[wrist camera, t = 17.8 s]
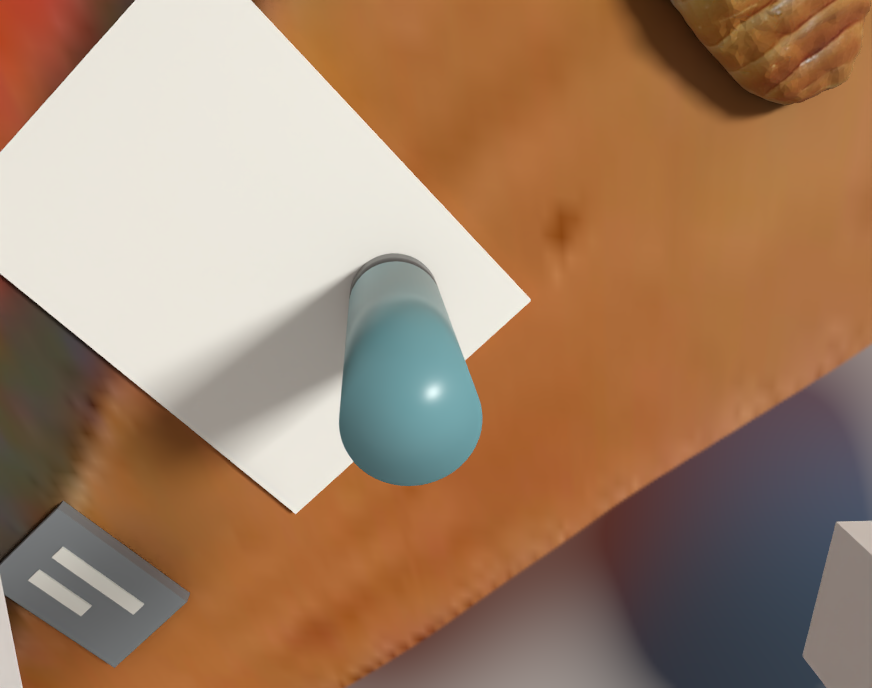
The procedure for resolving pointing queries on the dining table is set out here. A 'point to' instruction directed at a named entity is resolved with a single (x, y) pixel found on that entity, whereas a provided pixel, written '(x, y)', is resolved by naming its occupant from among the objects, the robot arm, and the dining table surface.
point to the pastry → (780, 42)
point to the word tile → (89, 585)
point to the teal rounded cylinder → (404, 377)
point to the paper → (224, 230)
